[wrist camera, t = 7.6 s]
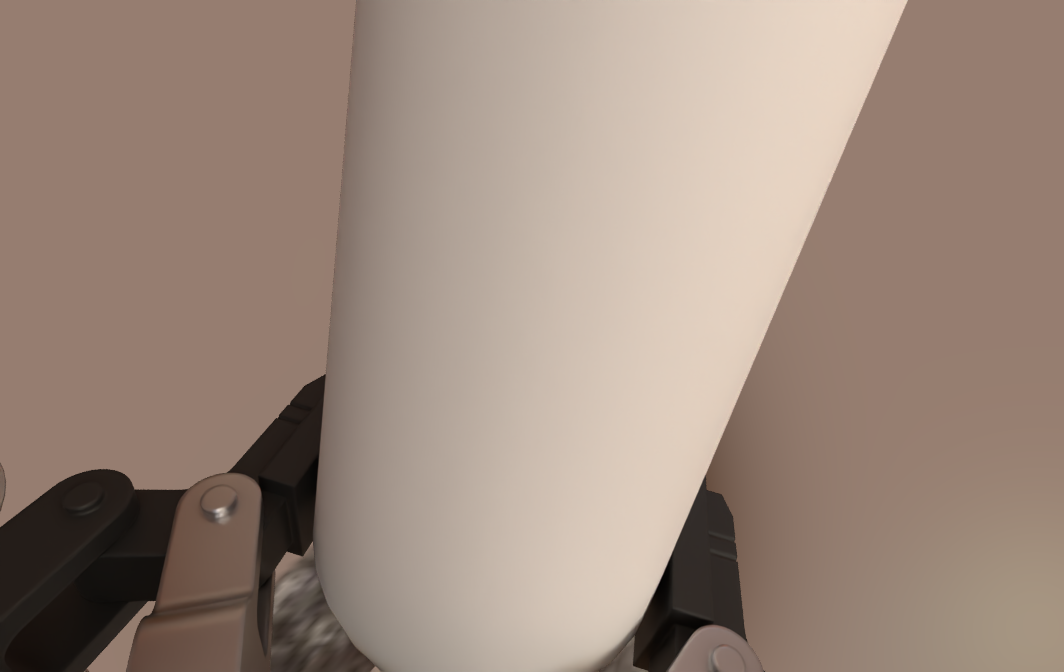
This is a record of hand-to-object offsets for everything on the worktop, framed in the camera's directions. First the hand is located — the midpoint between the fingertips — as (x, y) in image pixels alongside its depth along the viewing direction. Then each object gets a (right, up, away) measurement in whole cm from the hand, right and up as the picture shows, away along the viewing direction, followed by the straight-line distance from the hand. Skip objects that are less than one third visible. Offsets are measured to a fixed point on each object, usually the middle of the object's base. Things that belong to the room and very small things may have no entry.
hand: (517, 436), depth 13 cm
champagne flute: (-3, -12, +6) cm, 13 cm away
